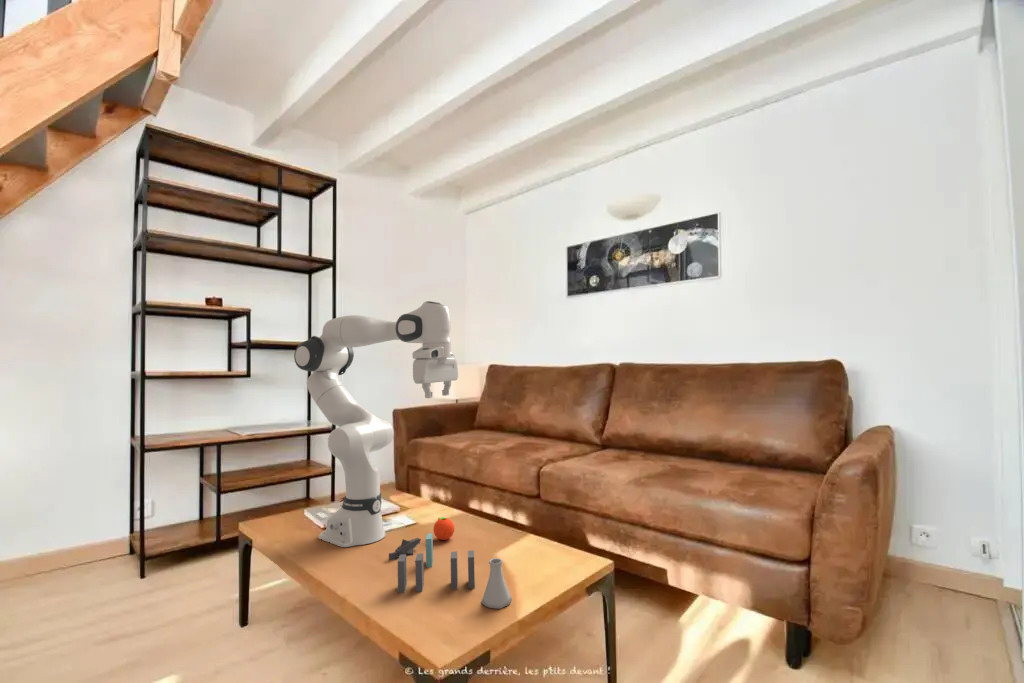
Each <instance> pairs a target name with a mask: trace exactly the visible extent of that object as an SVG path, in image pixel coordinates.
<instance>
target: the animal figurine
mask: <svg viewBox="0 0 1024 683" xmlns="http://www.w3.org/2000/svg"><path fill="white" fill-rule="evenodd" d="M421 540H422V539H421V538H419V537H415V538H412V539H411V540H410V539H409V540H406V539H402V541H401V544H400V545H399V546H398V547H397V548H396V549H394V550H395V551H393V552H389V553H388V561H389V562H392V561H393V560H395V559H397V557H398V558H399V556H400V555H403V554H406V555H413V554H414V549H416V548H417V547H418V545H420V544H421Z"/></svg>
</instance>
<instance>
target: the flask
mask: <svg viewBox="0 0 1024 683" xmlns="http://www.w3.org/2000/svg"><path fill="white" fill-rule="evenodd" d="M503 561H504V560H503V559H501V558H499V557H498V558H496V557H493V558H490V559H489V560H488V564H489V565H490V569H489V570H490V571H489V576H488V580H487V583H486V587H485V590H484V593H483V596H482V599H481V602H480V604H482V605H483V606H485V607H487V608H489V609H502V608H504V607H507V606H509V605H510V603H511V601H512V599H513V598H512V596H511V593H510V590H509V588H508V585H507V582H506V580H505V577H504V573H503V569H502V567H503V565H502V563H503Z"/></svg>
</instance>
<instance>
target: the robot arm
mask: <svg viewBox="0 0 1024 683" xmlns="http://www.w3.org/2000/svg"><path fill="white" fill-rule="evenodd" d="M450 331H451V316H450V310H449V307H448V305H446V304H445V303H443V302H438V301H437V302H436V301H430V300H429V301H425V302H423V303H422V304H421V306H420V307H418V308H415V310H413V311H410V312H407V313H404V314H402V315H400V316H399V317H398V318H397V320H396V321H392V320H391V321H390V320H386V319H385V320H384V319H381V318H376V317H371V316H366V315H360V314H359V315H358V314H357V315H353V314H352V315H351V314H350V315H345V316H344V315H343V316H337V317H336V318H335V317H334V318H332V319H329V320H327V321H326V322H325V324H324V325H323V328H322V332H321V333H322V334H321V335H320V336H316V335H312V336H311V337H310V338H308V339H307V340H305V341H303V342H301V343H299V344H298V346H296V349H295V351H294V355H293V358H294V363H295V365H296V366H297V368H298V369H300V370H302V371H305V372H312V374H310V376H308V378H307V381H306V387H307V389H308V392H309V395H310V396H311V397H312V399H313V401H314V403H315V404H316V406H317V408H319V410H320V411H321V413H322V414H323V415H324V417H325V418H326V420H327V421H328V422H329V423H330V424H331V425H334V426H337V427H336V428H334V429H333V430H332V431H330V433H329V435H328V437H327V448H328V450H329V452H330V454H331V455H333V457H335V458H336V459H337V460H338V461H339V463H340V464H341V466H342V468H343V472H344V478H345V496H343V497H341V498H339V503H341V502H342V505H341V506H340V508H339V509H338V510H336V511H335V513H333V514H332V515H331V516H329V518H328V519H327V521H326V529H325V530H324V531H322V532H321V533H320V534H318V539H319V540H321V539H322V541H325V542H326V543H329V542H330V544H332V545H335V546H338V547H341V548H349V547H353V546H361V545H367V544H372V543H376V542H378V541H380V540H382V539H383V538H385V537H386V531H385V527H384V523H383V522H384V521H383V516H382V509H381V508H382V494H381V488H380V487H381V485H380V484H381V483H380V482H381V481H380V480H381V478H380V477H381V474H380V473H381V472H380V470H379V468H378V467H376V466H375V465H374V464H372V461H371V459H370V453H372V452H376V451H379V450H382V449H384V448H385V447H387V446H388V445H390V443H392V441H393V439H394V433H395V432H394V428H393V426H392V423H390V422H389V421H388V420H386V419H382V418H380V417H378V416H376V415H374V414H373V413H371V412H370V411H369V410H367V409H366V408H364V406H362V405H361V404H359V403H358V401H357V400H356V399H355V398H354V397H353V395H352V394H351V393H350V392H349V390H348V389H347V388H346V386H345V385H344V383H342V382H341V380H340V377H339V376H342V375H344V374H345V373H346V371H347V369H348V368H350V366H351V365H352V363H353V360H354V357H355V356H354V354H355V353H354V349H353V348H359V347H367V346H370V345H374V344H375V345H376V344H380V343H384V342H388V341H399V340H400V341H401V342H404V343H407V344H421V345H422V346H421V347H419V348H417V349H416V350H414V351H412V359H413V363H412V380H413V382H414V383H415V384H417V385H418V384H419V385H420V384H421V387H422V389H423V392H424V398H425V399H432V398H433V392H432V391H431V388H430V387H431V384H433V383H434V384H435V383H442V384H443V389H442V390H441V395H442V396H444V397H446V396H449V395H450V390H451V387H452V382H453V381H454V382H455V381H457V380H458V379H459V368H458V362H457V359H456V357H455V355H454V353H453V352H452V350H451V349H452V347H451V345H452V344H451V340H450Z"/></svg>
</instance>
